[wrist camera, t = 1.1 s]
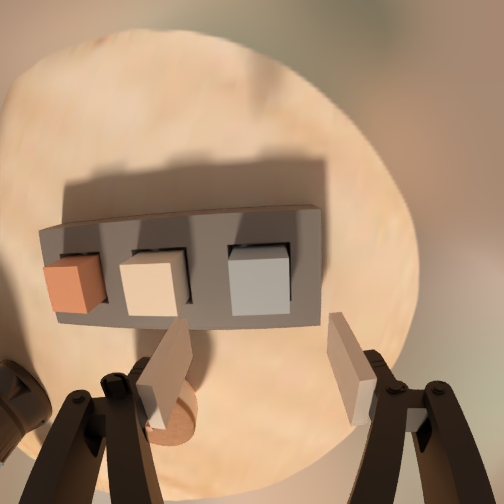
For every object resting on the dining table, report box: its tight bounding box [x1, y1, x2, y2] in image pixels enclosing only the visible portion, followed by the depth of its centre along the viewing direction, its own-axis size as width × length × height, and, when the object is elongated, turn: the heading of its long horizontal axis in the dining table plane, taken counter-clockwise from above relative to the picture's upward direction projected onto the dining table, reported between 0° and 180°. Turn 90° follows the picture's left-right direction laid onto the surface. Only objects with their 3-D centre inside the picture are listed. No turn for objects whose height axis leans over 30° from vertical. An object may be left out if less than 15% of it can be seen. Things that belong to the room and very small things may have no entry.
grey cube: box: [228, 245, 290, 316], centre depth 28 cm, size 5×5×5 cm
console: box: [39, 205, 322, 330], centre depth 32 cm, size 32×12×5 cm, turn 93°
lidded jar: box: [145, 379, 198, 446], centre depth 34 cm, size 11×11×9 cm
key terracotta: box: [43, 254, 108, 314], centre depth 29 cm, size 5×5×5 cm
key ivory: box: [119, 250, 190, 316], centre depth 28 cm, size 5×5×5 cm
